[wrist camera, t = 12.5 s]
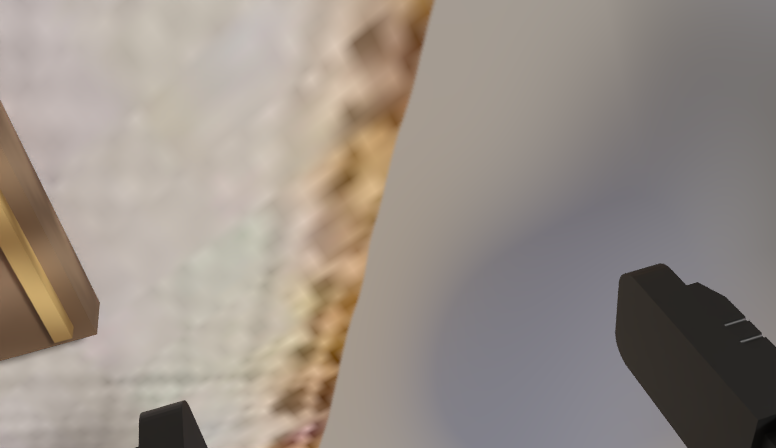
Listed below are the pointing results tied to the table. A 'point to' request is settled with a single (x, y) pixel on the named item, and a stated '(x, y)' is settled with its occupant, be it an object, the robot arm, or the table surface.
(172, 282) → the table surface
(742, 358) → the robot arm
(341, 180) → the table surface
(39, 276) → the platform
